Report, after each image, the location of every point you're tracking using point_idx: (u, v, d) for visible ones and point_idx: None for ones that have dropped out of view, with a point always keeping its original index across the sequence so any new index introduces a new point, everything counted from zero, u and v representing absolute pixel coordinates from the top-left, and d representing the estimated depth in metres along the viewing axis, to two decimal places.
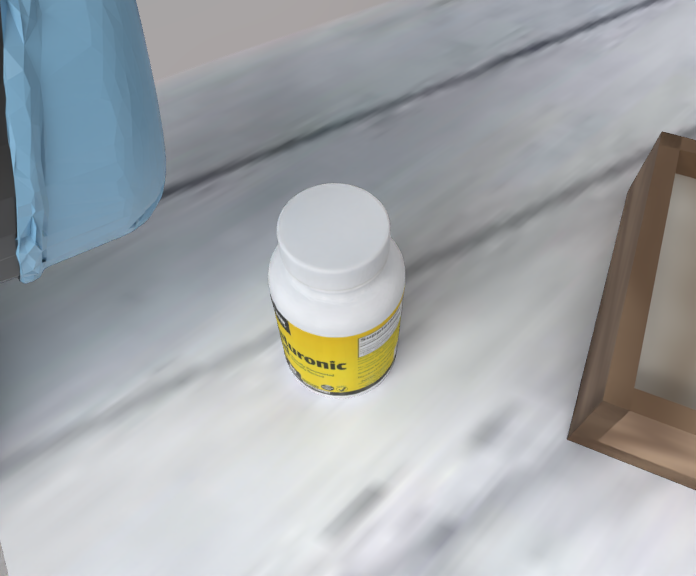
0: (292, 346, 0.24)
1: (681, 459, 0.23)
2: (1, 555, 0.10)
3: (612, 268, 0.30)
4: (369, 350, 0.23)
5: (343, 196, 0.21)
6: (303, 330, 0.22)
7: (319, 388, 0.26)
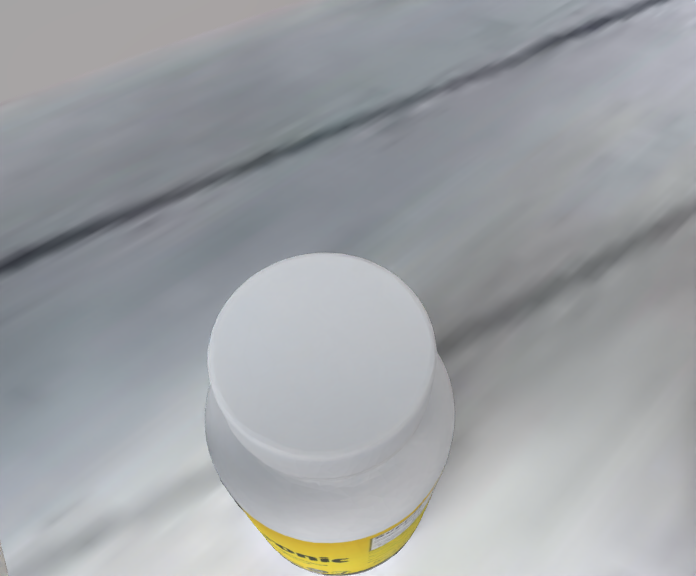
0: (254, 524, 0.14)
1: None
2: (1, 555, 0.10)
3: None
4: (388, 539, 0.13)
5: (341, 281, 0.11)
6: (269, 527, 0.11)
7: (304, 567, 0.16)
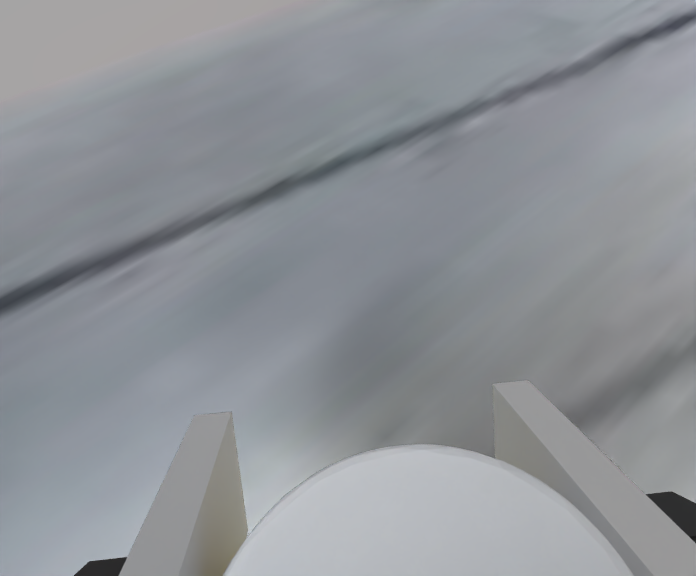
0: None
1: None
2: (239, 470, 0.12)
3: None
4: None
5: (462, 516, 0.05)
6: None
7: None
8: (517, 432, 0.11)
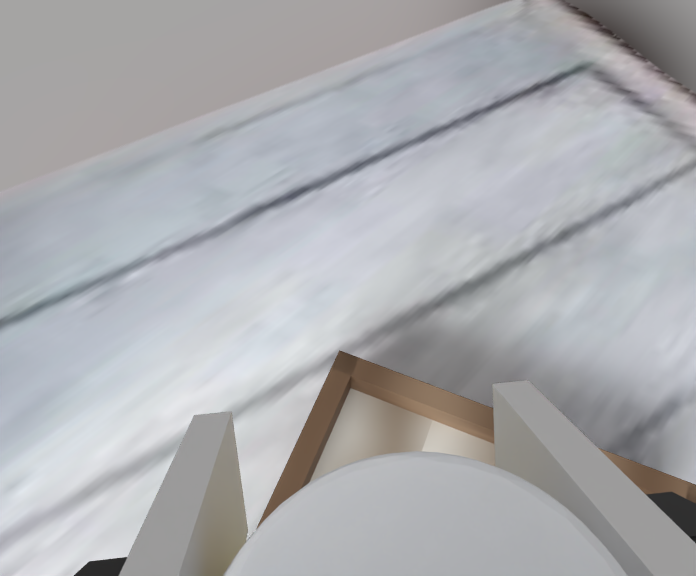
0: None
1: None
2: (239, 470, 0.12)
3: None
4: None
5: (460, 525, 0.05)
6: None
7: None
8: (517, 432, 0.11)
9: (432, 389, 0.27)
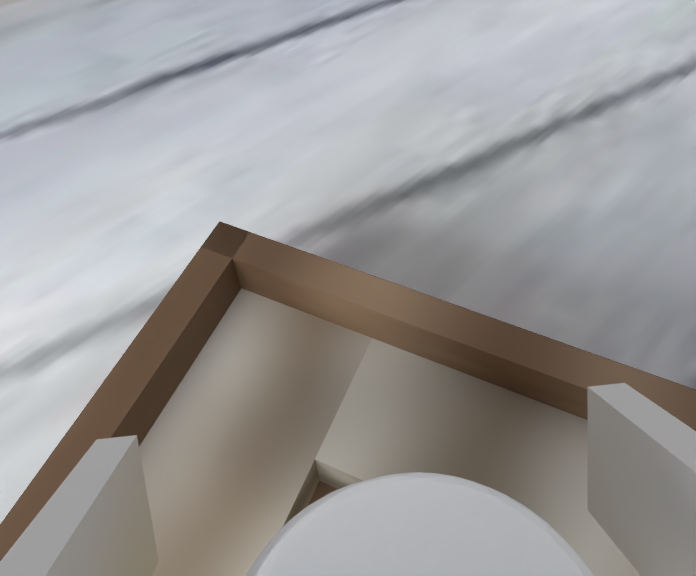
0: None
1: None
2: (146, 497, 0.11)
3: None
4: None
5: (454, 537, 0.06)
6: None
7: None
8: (628, 439, 0.10)
9: (368, 279, 0.15)
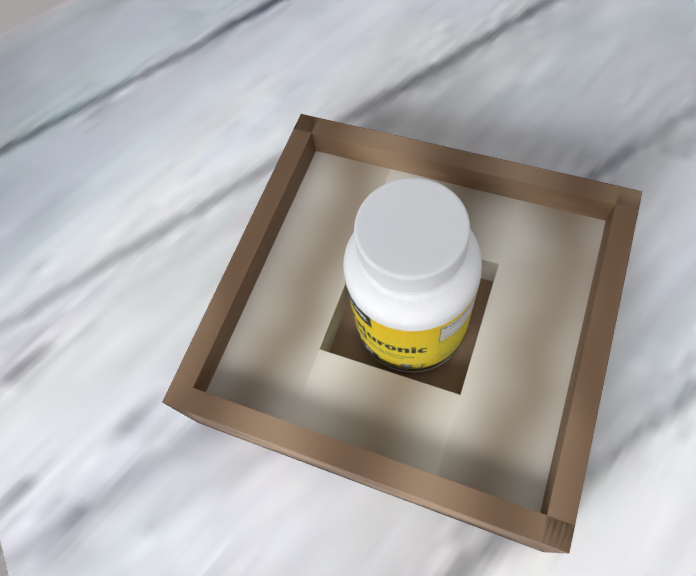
0: (372, 335, 0.24)
1: (256, 441, 0.26)
2: (1, 555, 0.10)
3: None
4: (449, 334, 0.23)
5: (417, 192, 0.20)
6: (387, 326, 0.22)
7: (398, 366, 0.27)
8: None
9: (385, 136, 0.29)
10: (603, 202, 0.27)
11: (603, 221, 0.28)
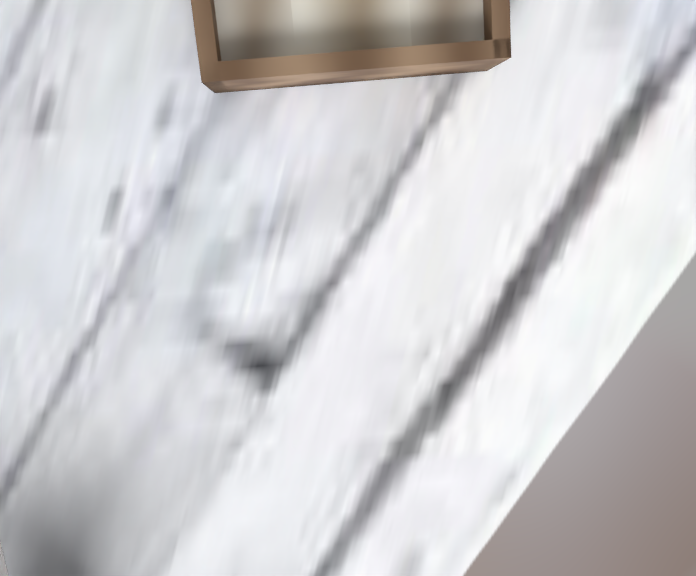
0: None
1: (275, 82, 0.34)
2: (1, 555, 0.10)
3: None
4: None
5: None
6: None
7: None
8: None
9: None
10: None
11: None
